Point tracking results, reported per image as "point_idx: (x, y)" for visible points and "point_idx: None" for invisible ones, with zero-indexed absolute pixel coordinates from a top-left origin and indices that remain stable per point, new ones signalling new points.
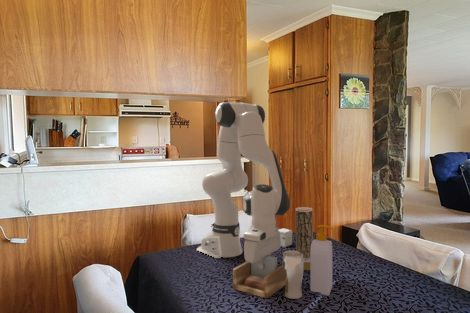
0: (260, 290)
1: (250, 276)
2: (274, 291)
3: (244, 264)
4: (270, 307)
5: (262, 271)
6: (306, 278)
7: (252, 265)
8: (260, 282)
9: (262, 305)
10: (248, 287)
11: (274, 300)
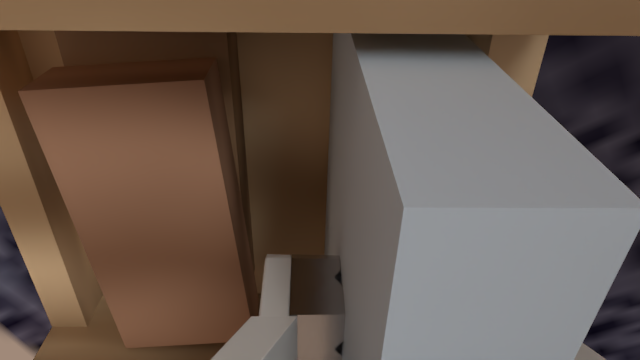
0: (64, 282)
1: (159, 103)
2: None
3: (55, 19)
4: (36, 341)
5: (333, 234)
6: (635, 342)
7: (347, 75)
8: (103, 291)
9: (8, 295)
10: (8, 156)
11: None
